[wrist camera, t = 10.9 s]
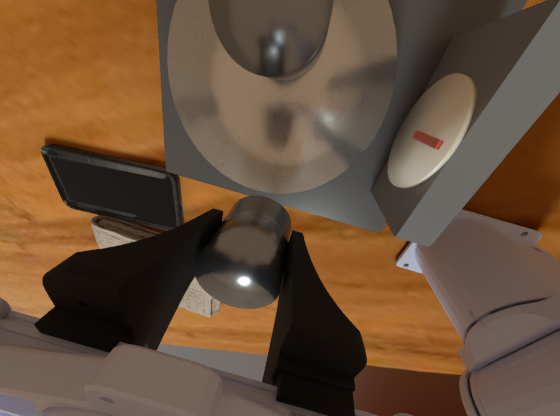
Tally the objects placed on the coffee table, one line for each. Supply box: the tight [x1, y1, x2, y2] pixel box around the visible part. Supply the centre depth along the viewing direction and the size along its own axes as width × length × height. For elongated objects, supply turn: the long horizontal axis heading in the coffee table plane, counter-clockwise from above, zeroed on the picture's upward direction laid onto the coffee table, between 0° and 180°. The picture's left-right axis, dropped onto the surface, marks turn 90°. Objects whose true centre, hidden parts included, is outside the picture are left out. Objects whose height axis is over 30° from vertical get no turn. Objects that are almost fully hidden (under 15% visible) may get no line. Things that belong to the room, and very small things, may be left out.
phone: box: [41, 144, 184, 231], centre depth 23 cm, size 8×1×15 cm
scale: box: [157, 0, 560, 247], centre depth 13 cm, size 20×17×8 cm
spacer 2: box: [194, 196, 291, 309], centre depth 12 cm, size 4×4×5 cm
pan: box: [167, 0, 397, 194], centre depth 13 cm, size 14×14×1 cm
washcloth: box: [91, 215, 220, 317], centre depth 28 cm, size 12×18×3 cm, turn 73°
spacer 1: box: [208, 0, 334, 81], centre depth 9 cm, size 4×4×5 cm
